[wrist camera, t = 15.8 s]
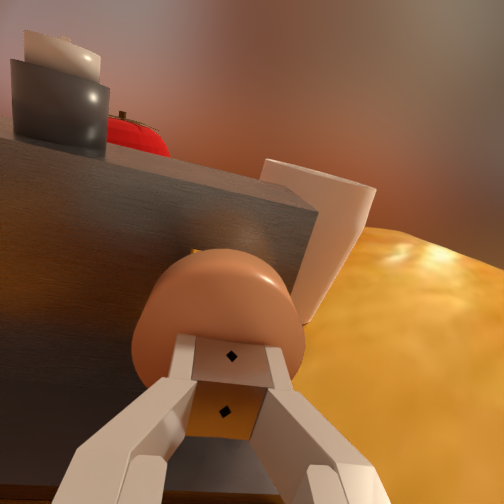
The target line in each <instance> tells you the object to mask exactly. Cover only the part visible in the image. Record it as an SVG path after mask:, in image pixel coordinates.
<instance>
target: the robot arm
mask: <svg viewBox="0 0 504 504" xmlns="http://www.w3.org/2000/svg"><path fill="white" fill-rule="evenodd" d="M185 436H198V437H219V438H229V439H239V440H249V441H250V442H249V443H250V444H251V446H252V448H253V449H254V451H255V453H256V455H257V456H258V458H259V460H260V462H261V463H262V465H263V467H264V468H265V470H266V472H267V474H268V475H269V477H270V479H271V481H272V482H273V484H274V486H275V487H276V489H277V491H278V493H279V494H280V496H281V498H282V500H283V501H284V503H285V504H391V503H390V500H389V498H388V496H387V494H386V492H385V490H384V487H383V485H382V483H381V481H380V479H379V477H378V474H377V472H376V470H375V468H374V466H373V465H372V464H371V463H370V462H369V461H368V460H367V459H366V458H365V457H364V456H363V455H362V454H361V453H360V452H359V451H358V450H357V449H356V448H355V447H354V446H353V445H352V444H351V443H350V442H349V441H348V440H347V439H346V438H345V437H344V436H343V435H342V434H341V433H340V432H339V431H338V430H337V429H336V428H335V427H334V426H333V425H332V424H331V423H330V422H329V421H328V420H327V419H326V418H325V417H324V416H323V415H322V414H321V413H320V412H319V411H318V410H317V409H316V408H315V407H314V406H313V405H312V404H311V403H310V402H309V401H308V400H307V399H306V398H305V397H304V396H303V395H302V394H301V393H300V392H297V391H294V390H293V387H292V383H291V380H290V376H289V373H288V370H287V366H286V363H285V359H284V356H283V353H282V349H281V348H280V347H279V346H269V345H256V344H249V343H241V342H233V341H227V340H221V339H215V338H208V337H202V336H195V335H188V334H181V333H178V335H177V337H176V342H175V346H174V351H173V355H172V360H171V364H170V369H169V373H168V378H165V377H161V378H160V379H159V380H158V381H157V382H155V383H154V384H153V385H152V386H151V387H149V388H148V389H147V390H146V391H145V392H144V393H142V394H141V395H140V396H139V397H138V398H136V399H135V400H134V401H133V402H132V403H131V404H129V405H128V406H127V407H126V408H125V409H123V410H122V411H121V412H120V413H119V414H118V415H116V416H115V417H114V418H113V419H112V420H110V421H109V422H108V423H107V424H106V425H105V426H103V427H102V428H101V429H100V430H99V431H97V432H96V433H95V434H94V435H93V436H92V437H90V438H89V439H88V440H87V441H86V442H84V443H83V444H82V445H81V446H80V447H79V448H77V450H76V452H75V454H74V456H73V459H72V461H71V463H70V465H69V467H68V469H67V471H66V474H65V476H64V478H63V480H62V482H61V484H60V486H59V489H58V491H57V493H56V495H55V497H54V499H53V501H52V504H161V502H162V495H163V489H164V482H165V476H166V469H167V462H168V460H169V459H170V457H171V456H172V455H173V453H174V452H175V450H176V449H177V448H178V446H179V445H180V443H181V442H182V441H183V439H184V437H185Z"/></svg>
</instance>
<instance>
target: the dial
mask: <svg viewBox="0 0 504 504" xmlns="http://www.w3.org/2000/svg"><path fill="white" fill-rule="evenodd" d="M24 52H25V53H24V54H25V55H24V56H25V62H23V61H19V60H15V59H10V64H11V88H12V113H13V131H14V132H16V133H18V134H21V135H24V136H27V137H31V138H34V139H38V140H43V141H47V142H52V143H56V144H62V145H67V146H73V147H79V148H87V149H100V150H102V149H106V143H107V128H108V113H109V98H110V88H108V87H105V86H103V85H100V84H99V80H100V62H101V57H100V56H98V55H97V54H95V53H93V52H91V51H89V50H86V49H84V48H81V47H79V46H77V45H74V44H71V39H70V38H68V37H65V36H62V35H61V37H60V38H59V39H57V38H54V37H51V36H48V35H44V34H41V33H37V32H33V31H28V30H25V31H24Z"/></svg>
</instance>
